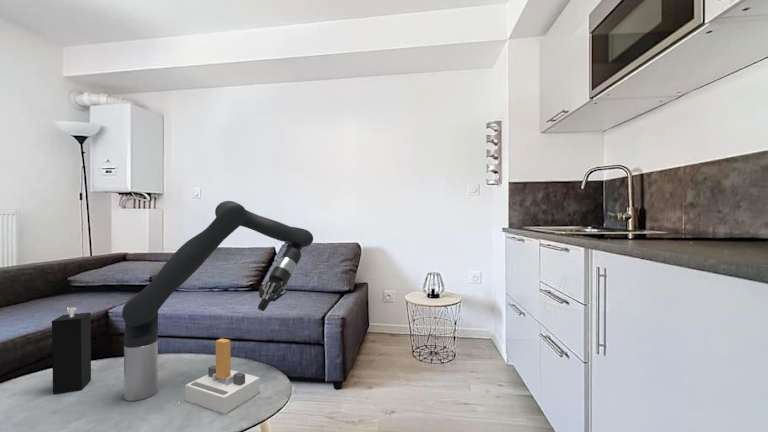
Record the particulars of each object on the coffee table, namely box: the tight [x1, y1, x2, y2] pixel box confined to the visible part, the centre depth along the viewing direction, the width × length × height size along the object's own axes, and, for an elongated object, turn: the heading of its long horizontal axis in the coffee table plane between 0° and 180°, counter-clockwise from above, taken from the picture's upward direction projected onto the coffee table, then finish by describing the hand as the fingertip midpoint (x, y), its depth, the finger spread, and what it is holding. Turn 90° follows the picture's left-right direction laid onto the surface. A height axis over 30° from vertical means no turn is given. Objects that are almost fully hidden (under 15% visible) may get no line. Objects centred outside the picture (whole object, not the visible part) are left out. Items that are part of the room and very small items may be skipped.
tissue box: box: [51, 306, 92, 395], centre depth 120 cm, size 8×8×28 cm
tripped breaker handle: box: [215, 338, 232, 380], centre depth 114 cm, size 4×2×13 cm, turn 65°
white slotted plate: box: [184, 364, 261, 415], centre depth 114 cm, size 18×14×8 cm
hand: (260, 309), depth 128 cm, fingers closed
